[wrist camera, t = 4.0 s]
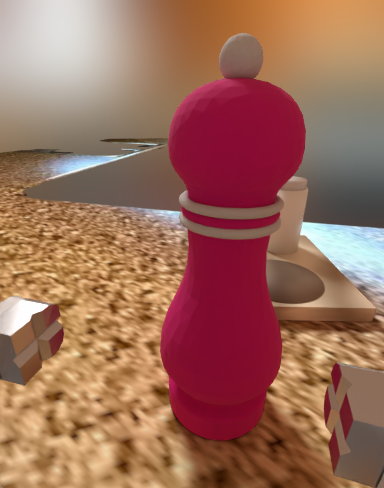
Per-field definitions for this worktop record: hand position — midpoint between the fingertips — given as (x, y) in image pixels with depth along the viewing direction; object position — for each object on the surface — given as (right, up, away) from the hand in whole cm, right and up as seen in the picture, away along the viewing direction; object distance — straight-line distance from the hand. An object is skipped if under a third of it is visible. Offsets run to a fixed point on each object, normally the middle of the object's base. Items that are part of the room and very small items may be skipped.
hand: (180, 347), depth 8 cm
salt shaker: (+12, +3, +30) cm, 33 cm away
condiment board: (+9, -1, +27) cm, 28 cm away
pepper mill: (+2, -7, +11) cm, 13 cm away
